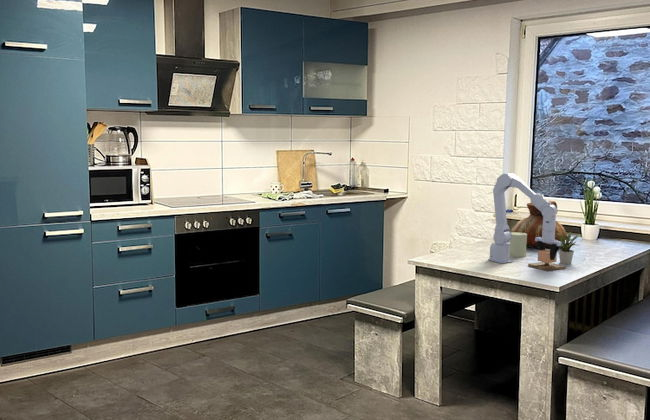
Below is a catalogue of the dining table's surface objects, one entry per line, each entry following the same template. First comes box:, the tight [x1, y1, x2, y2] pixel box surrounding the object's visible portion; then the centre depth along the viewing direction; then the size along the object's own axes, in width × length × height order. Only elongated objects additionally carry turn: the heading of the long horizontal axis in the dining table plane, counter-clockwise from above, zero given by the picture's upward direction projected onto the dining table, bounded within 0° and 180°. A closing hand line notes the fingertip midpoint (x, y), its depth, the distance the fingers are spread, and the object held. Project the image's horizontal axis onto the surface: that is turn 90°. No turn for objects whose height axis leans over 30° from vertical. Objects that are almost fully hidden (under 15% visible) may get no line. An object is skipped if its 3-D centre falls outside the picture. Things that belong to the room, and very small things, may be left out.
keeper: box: [527, 261, 567, 272], centre depth 315 cm, size 12×12×5 cm
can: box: [509, 231, 527, 258], centre depth 343 cm, size 9×9×12 cm
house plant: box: [556, 230, 582, 265], centre depth 324 cm, size 14×14×16 cm
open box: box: [537, 249, 558, 263], centre depth 315 cm, size 6×6×5 cm
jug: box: [510, 200, 568, 249], centre depth 370 cm, size 30×30×25 cm
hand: (547, 258), depth 315 cm, fingers closed on open box, 6 cm apart
